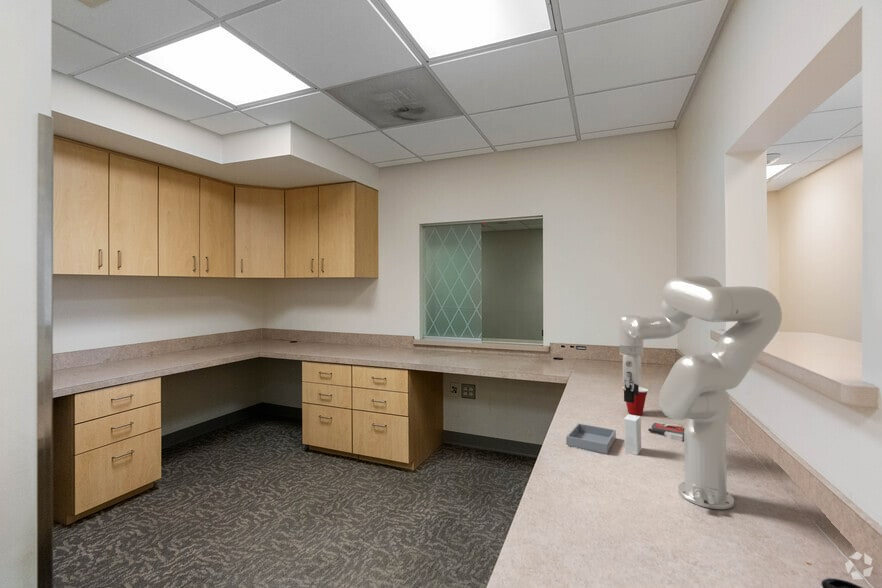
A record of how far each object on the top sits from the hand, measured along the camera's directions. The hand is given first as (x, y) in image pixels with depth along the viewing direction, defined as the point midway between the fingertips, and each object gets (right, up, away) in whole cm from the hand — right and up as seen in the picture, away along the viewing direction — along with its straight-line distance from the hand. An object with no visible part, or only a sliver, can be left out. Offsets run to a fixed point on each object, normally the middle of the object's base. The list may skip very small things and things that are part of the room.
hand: (631, 398), depth 135 cm
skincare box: (0, -19, 0) cm, 19 cm away
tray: (-11, -19, +8) cm, 23 cm away
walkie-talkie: (+24, -19, +12) cm, 33 cm away
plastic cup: (+21, -18, +39) cm, 48 cm away
